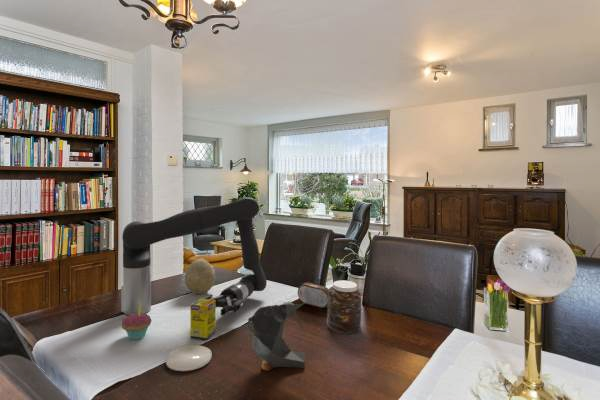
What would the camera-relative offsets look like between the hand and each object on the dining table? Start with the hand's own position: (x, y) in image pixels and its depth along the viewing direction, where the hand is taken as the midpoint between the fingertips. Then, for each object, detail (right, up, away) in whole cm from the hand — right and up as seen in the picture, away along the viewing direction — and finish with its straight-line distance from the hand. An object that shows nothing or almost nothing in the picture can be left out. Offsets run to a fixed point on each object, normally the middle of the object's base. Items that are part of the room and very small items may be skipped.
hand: (210, 310), depth 113 cm
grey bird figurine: (+23, -9, -19) cm, 31 cm away
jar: (+45, -7, +6) cm, 46 cm away
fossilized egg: (-14, -4, +35) cm, 38 cm away
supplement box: (-1, -7, -3) cm, 8 cm away
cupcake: (-22, -7, -5) cm, 23 cm away
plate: (-1, -8, -18) cm, 20 cm away
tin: (+35, -6, +24) cm, 43 cm away
